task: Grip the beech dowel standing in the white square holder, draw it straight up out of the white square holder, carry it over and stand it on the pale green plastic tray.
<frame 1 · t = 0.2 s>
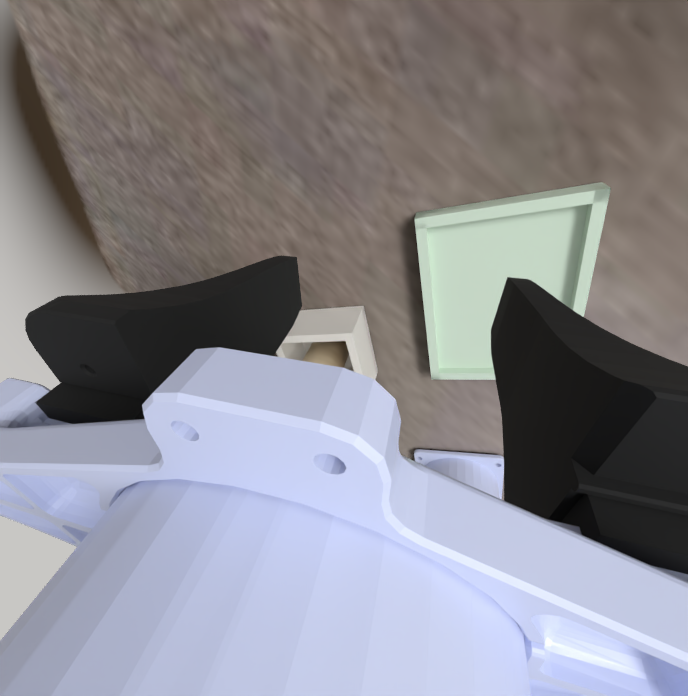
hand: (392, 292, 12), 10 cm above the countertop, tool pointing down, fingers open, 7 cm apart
tray: (497, 297, 21), on the countertop
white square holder: (334, 341, 27), on the countertop
dowel: (332, 345, 27), point 1 cm above the countertop, touching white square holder
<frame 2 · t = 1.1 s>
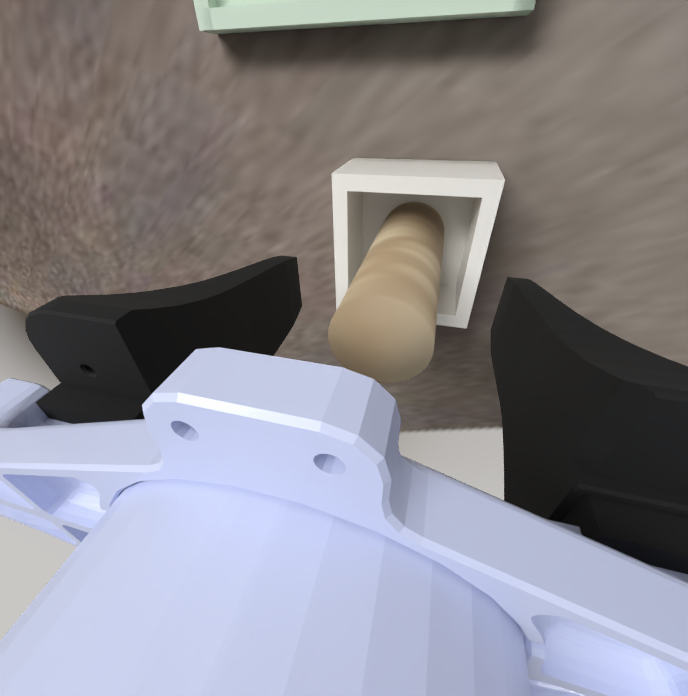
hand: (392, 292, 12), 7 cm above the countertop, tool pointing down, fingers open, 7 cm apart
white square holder: (413, 230, 17), on the countertop
dowel: (412, 234, 16), point 1 cm above the countertop, touching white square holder
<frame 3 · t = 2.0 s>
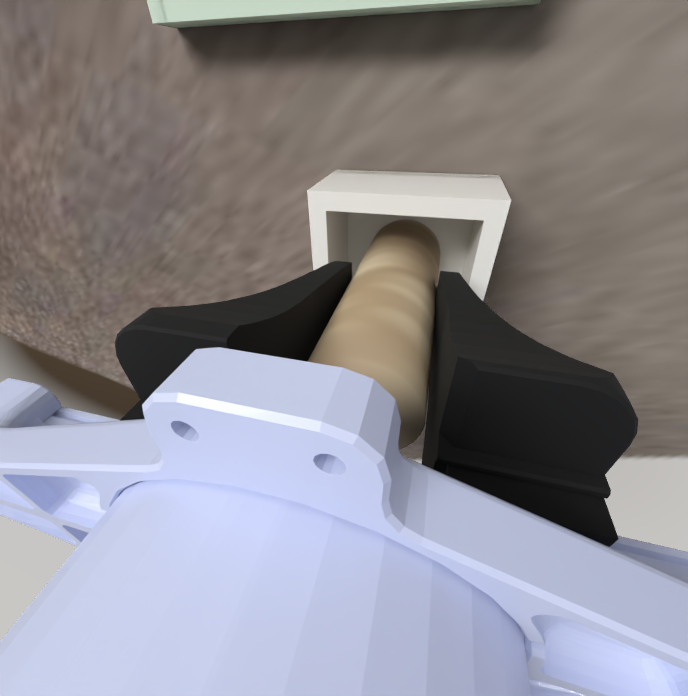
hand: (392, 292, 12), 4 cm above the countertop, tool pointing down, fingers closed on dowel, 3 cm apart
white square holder: (405, 250, 15), on the countertop
dowel: (404, 255, 14), point 1 cm above the countertop, touching gripper, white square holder
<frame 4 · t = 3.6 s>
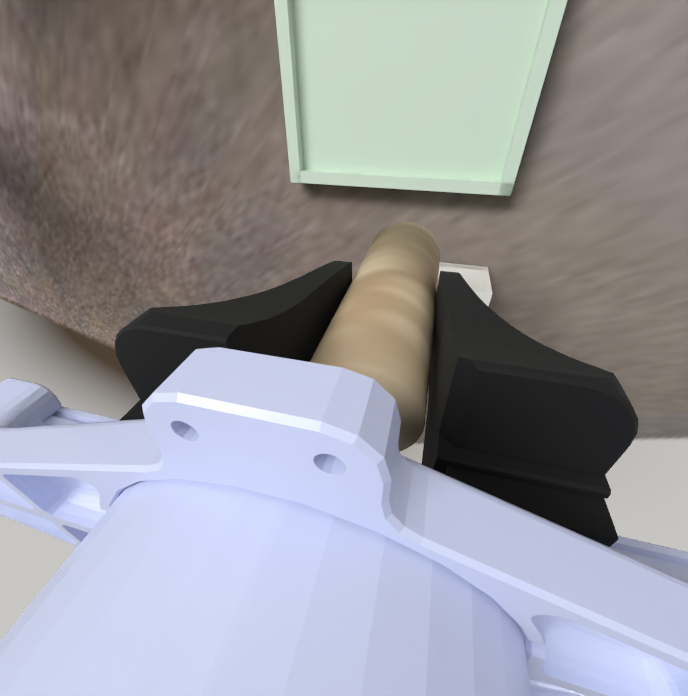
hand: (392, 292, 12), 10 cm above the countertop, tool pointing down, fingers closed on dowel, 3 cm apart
tray: (405, 83, 16), on the countertop
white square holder: (428, 303, 23), on the countertop
dowel: (404, 257, 14), point 7 cm above the countertop, touching gripper
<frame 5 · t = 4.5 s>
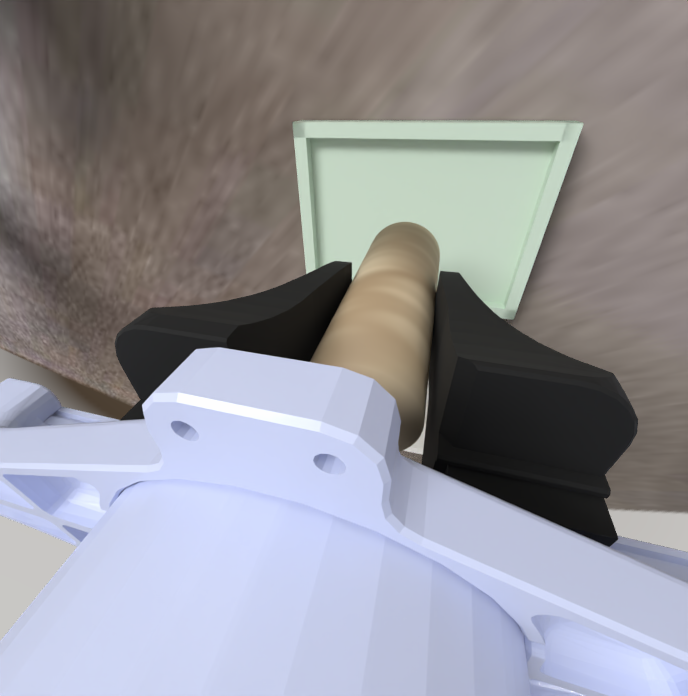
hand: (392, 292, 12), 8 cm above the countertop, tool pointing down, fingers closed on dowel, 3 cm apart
tray: (415, 222, 18), on the countertop
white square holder: (437, 391, 25), on the countertop
dowel: (403, 257, 14), point 5 cm above the countertop, touching gripper
when the fingers open (5 cm above the countertop, at t = 5.3 s): dowel stays where it is, resting on tray.
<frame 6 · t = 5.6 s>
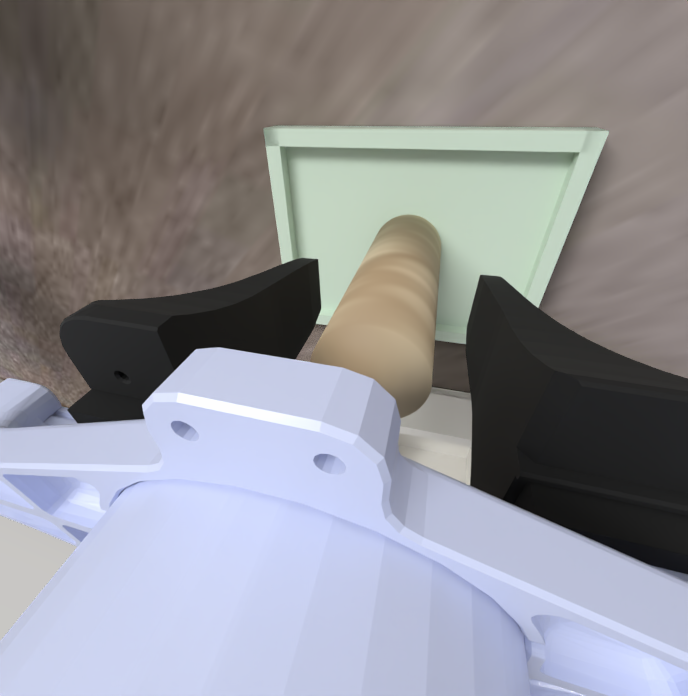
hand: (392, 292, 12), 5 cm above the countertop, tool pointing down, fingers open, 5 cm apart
tray: (408, 241, 16), on the countertop
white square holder: (434, 421, 22), on the countertop
dowel: (406, 248, 15), point 1 cm above the countertop, touching tray
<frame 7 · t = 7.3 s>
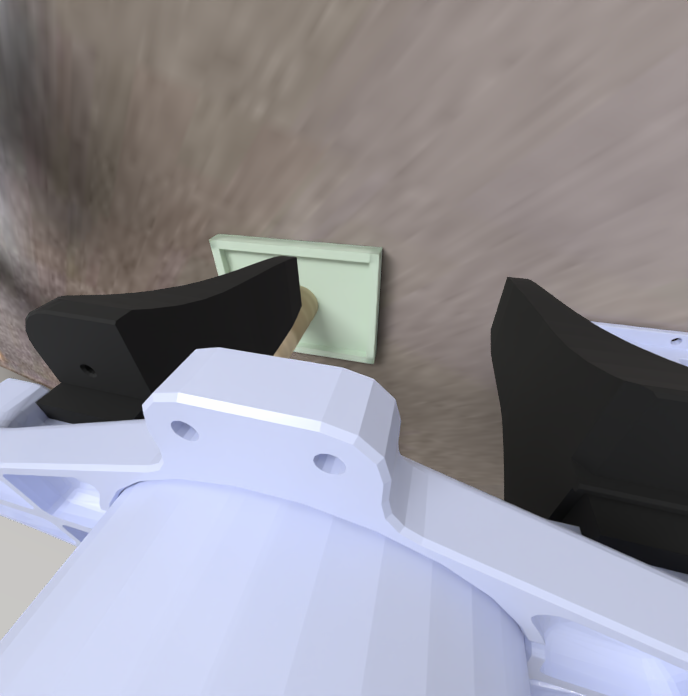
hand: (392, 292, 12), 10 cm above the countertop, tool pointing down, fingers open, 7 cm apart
tray: (301, 297, 26), on the countertop
dowel: (299, 302, 25), point 1 cm above the countertop, touching tray
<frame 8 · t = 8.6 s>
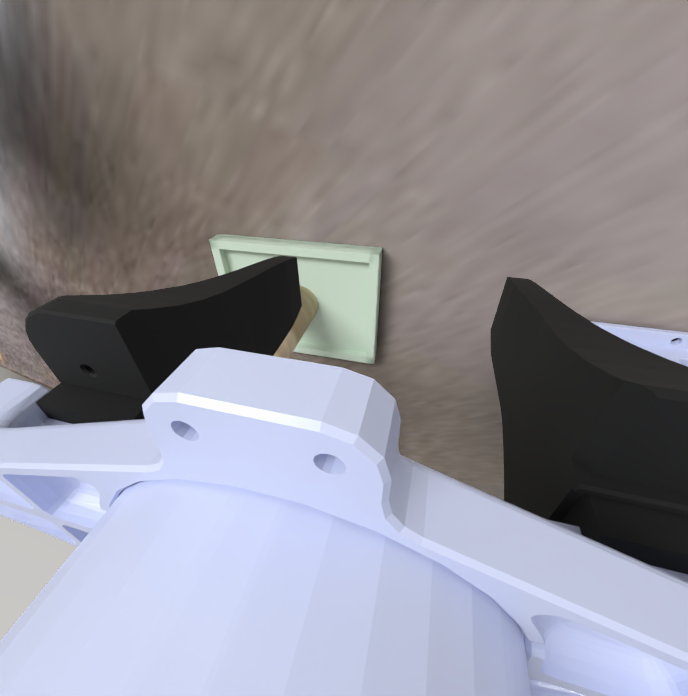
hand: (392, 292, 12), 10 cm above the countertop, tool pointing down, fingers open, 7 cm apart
tray: (301, 297, 26), on the countertop
dowel: (299, 302, 25), point 1 cm above the countertop, touching tray
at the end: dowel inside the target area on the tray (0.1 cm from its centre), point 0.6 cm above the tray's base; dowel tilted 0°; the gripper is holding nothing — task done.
